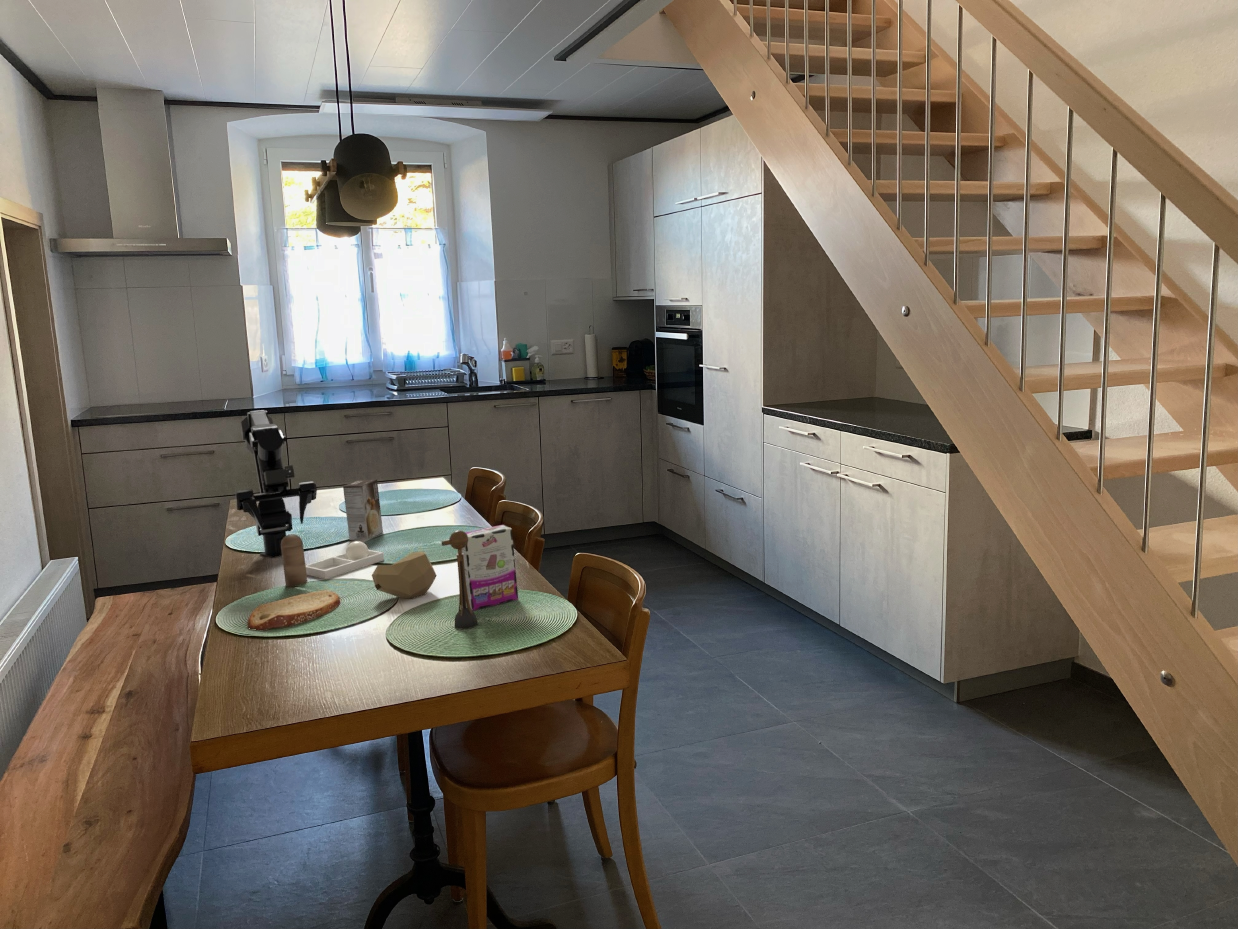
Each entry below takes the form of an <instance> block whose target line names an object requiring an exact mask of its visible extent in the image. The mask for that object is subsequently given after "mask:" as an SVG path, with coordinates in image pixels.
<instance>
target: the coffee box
mask: <svg viewBox="0 0 1238 929" xmlns="http://www.w3.org/2000/svg"><path fill="white" fill-rule="evenodd" d="M342 488H343V498H344V506H345V514H346V522H347V529H348V530H347V531H348V538H349V540H350V541H358V540H360V539H361V540H368V539H371V538H373V537H376V536H378V535H380V534H381V533H384V530H383V522H382V521H383V519H382V511H381V501H380V495H379V494H380V493H379V486H378V479H357V480H355V481H352V482H350V483H348V484H345V485H343V486H342Z"/></svg>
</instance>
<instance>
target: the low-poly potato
mask: <svg viewBox="0 0 1238 929" xmlns="http://www.w3.org/2000/svg"><path fill="white" fill-rule="evenodd" d="M371 577H372V580H373V583H374V587H375V589H376V591H379V592H382V593H385V594H389V595H391V596H394V597H397V598H401V599H409V600H413V599H416V598H420V597H424V596H425V595H426V594H427V592H429V589H431V587H432V585H433V584H434V581H435V580H436V578H437V574H436V571H435V569H434V567H433V564H432V563H431V561H430V559H429V557H428V556H427V554H426V552H424V550H420V551H414V552H412V553H410V554H408V555H406V556H404V557H403V558H401V559H400V560H398V561H396V562H394V563H392V564H379V565H376V568H375V569H374V570H373V573H372V574H371Z"/></svg>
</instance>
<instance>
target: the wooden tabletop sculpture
mask: <svg viewBox="0 0 1238 929" xmlns="http://www.w3.org/2000/svg"><path fill="white" fill-rule="evenodd" d="M467 544H468V535H467V534H466V533H465V531H463V530H462V529H461V530H460V529H459V530H455V531H453V532H452V533H451V534H450V536H449V539H445V540H441V546H442V547H444V546H449V545H450V546H451V548H453V549H454V550H457V553H456V554H455V555H456V562H457V571H458V572H457V576H458V586H459V587H458V588H459V589H458V590H459V591H458V592H459V597H458V598H459V599H458V601H459V603H458V611H457V613H456V614H455V617H454V628H455V629H458V630H469V629H472V628H476V626H478V625H479V624H478V617H477V614H476V612H474V610H471V607H470V604H469V599H468V593H467V586H466V578H465V567H464V556H463V555H464V553H462V548H465V547H466V545H467ZM466 603H467V606H466Z"/></svg>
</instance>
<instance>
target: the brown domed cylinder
mask: <svg viewBox="0 0 1238 929" xmlns="http://www.w3.org/2000/svg"><path fill="white" fill-rule="evenodd" d="M281 551H282V555H281V557H282V558H281V560H282V566H283V573H284V581H285V582H284V584H285V587H286V588H299V587H300V585H304V584H306V583H307V582H308V575H307V574H306V566H305V565H306V560H305V551H304V544H303V539H302V538H301V536H300V535H297V534H296V533H294V534H293V533H290V534H286V536H285V537H284V538H283V539H282V541H281Z"/></svg>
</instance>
